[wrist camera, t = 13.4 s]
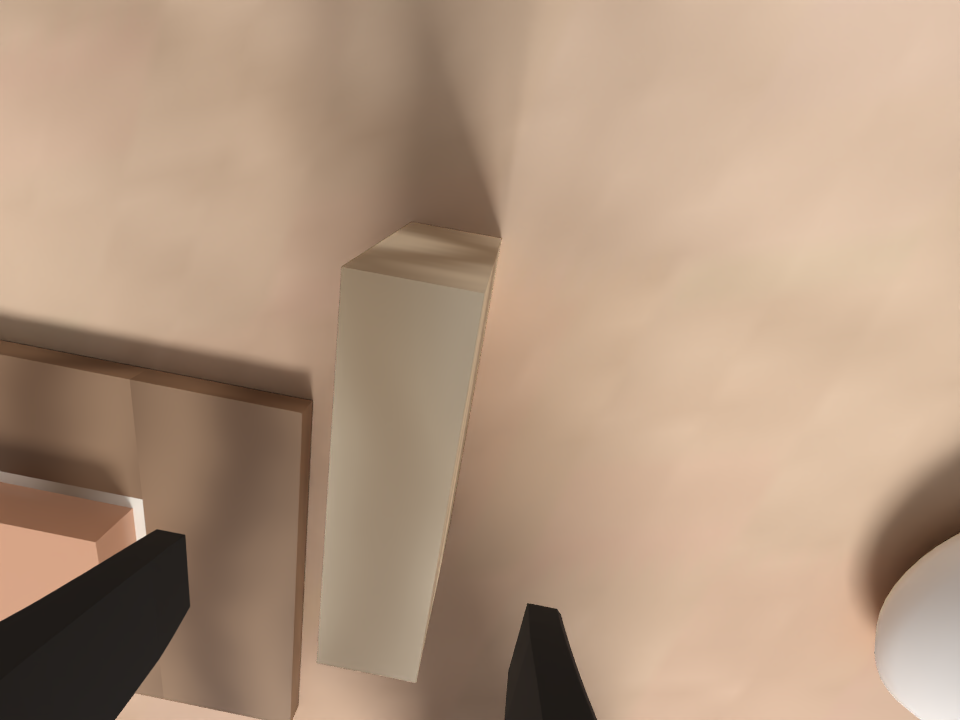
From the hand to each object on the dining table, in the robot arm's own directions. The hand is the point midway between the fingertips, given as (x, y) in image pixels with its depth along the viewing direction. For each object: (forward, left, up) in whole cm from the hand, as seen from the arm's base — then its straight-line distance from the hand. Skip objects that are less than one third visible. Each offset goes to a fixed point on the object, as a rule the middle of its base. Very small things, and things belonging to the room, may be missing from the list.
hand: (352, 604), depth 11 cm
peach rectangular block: (+15, +10, -8) cm, 20 cm away
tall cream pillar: (0, 0, -10) cm, 10 cm away
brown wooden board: (+12, +10, -9) cm, 18 cm away
